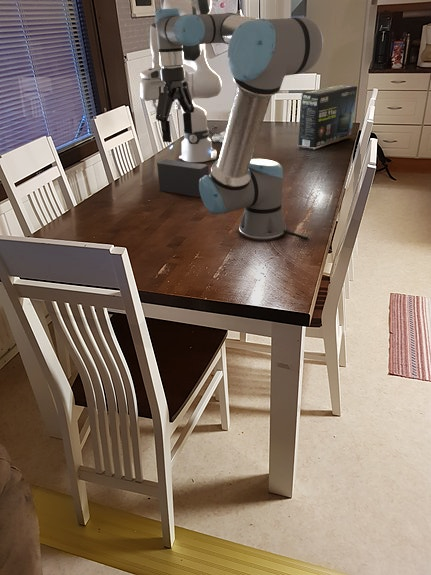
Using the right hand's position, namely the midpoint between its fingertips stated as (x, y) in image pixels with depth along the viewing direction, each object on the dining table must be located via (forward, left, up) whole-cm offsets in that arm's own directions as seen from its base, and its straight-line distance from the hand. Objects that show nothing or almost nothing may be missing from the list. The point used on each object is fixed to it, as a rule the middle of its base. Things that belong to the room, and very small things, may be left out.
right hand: (178, 137), depth 153 cm
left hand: (+21, -25, +3) cm, 33 cm away
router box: (-14, -115, -27) cm, 119 cm away
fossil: (+36, -99, -27) cm, 109 cm away
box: (+13, -20, -27) cm, 36 cm away
